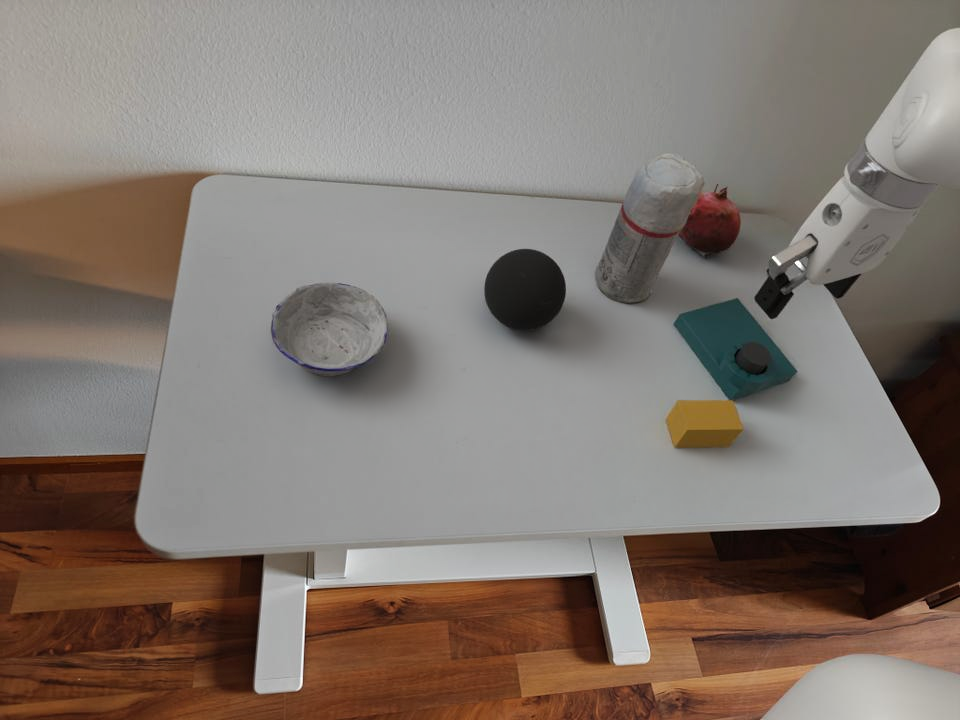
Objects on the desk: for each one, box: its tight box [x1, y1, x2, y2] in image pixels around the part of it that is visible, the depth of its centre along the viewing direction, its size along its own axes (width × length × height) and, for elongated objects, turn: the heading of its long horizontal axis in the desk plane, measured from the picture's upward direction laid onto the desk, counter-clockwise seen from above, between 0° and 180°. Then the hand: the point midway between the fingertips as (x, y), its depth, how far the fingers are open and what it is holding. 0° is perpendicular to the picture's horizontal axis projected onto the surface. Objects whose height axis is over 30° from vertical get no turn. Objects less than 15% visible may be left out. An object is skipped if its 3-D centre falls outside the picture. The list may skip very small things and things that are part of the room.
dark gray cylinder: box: [736, 342, 771, 375], centre depth 89 cm, size 4×4×2 cm
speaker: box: [483, 248, 567, 332], centre depth 89 cm, size 10×10×10 cm
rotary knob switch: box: [673, 297, 798, 401], centre depth 94 cm, size 14×10×4 cm
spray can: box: [594, 152, 705, 304], centre depth 92 cm, size 8×8×20 cm
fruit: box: [678, 183, 742, 259], centre depth 104 cm, size 9×10×10 cm
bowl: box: [270, 282, 389, 377], centre depth 84 cm, size 13×13×5 cm
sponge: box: [665, 399, 745, 449], centre depth 85 cm, size 7×4×4 cm, turn 96°
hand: (797, 298), depth 79 cm, fingers open, 9 cm apart
